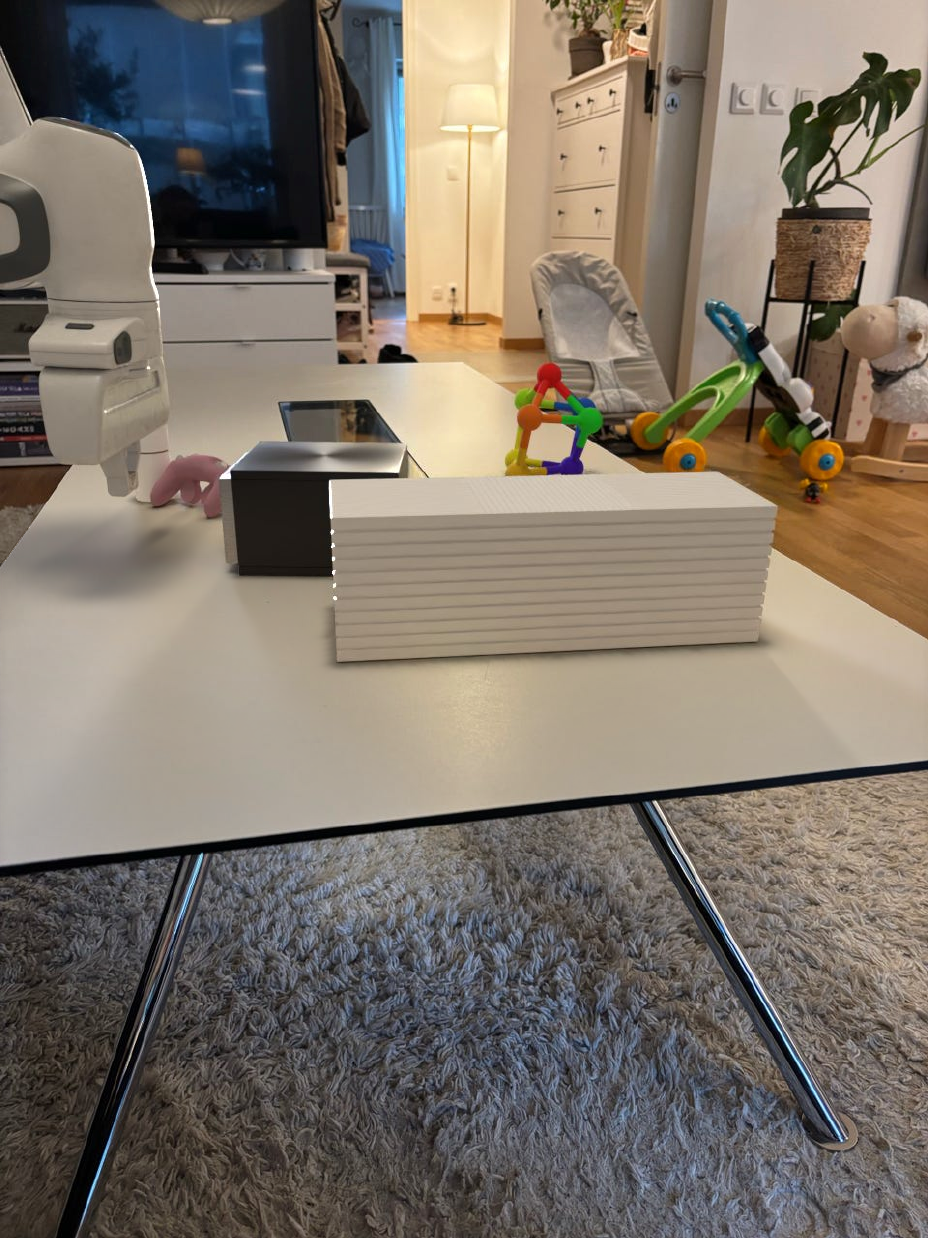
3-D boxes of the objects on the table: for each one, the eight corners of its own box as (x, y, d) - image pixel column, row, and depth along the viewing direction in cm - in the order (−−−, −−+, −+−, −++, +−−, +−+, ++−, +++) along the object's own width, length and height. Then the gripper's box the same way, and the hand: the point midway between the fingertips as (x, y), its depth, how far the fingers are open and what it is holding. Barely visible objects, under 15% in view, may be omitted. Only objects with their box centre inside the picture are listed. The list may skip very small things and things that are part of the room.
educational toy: (612, 498, 113) (625, 376, 106) (510, 501, 111) (517, 377, 104) (578, 459, 126) (588, 349, 119) (487, 461, 124) (491, 349, 117)
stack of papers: (703, 592, 79) (718, 471, 75) (757, 642, 70) (778, 505, 66) (334, 607, 75) (329, 479, 71) (336, 662, 65) (330, 517, 61)
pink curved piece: (236, 525, 102) (251, 465, 102) (207, 516, 97) (223, 453, 98) (173, 512, 106) (188, 454, 106) (143, 502, 102) (159, 442, 102)
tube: (164, 503, 104) (149, 368, 98) (129, 501, 105) (112, 367, 99) (181, 494, 108) (167, 363, 102) (147, 492, 109) (131, 362, 103)
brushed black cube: (238, 575, 82) (229, 470, 78) (266, 533, 94) (259, 441, 90) (400, 577, 82) (398, 472, 78) (408, 535, 94) (407, 442, 90)
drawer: (212, 563, 82) (204, 478, 79) (241, 526, 93) (235, 450, 90) (375, 565, 82) (373, 480, 79) (385, 528, 93) (383, 452, 90)
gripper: (114, 323, 87) (128, 465, 93) (17, 345, 68) (41, 522, 74) (180, 326, 87) (190, 468, 93) (101, 348, 69) (119, 525, 74)
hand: (124, 492), depth 83 cm, fingers closed
